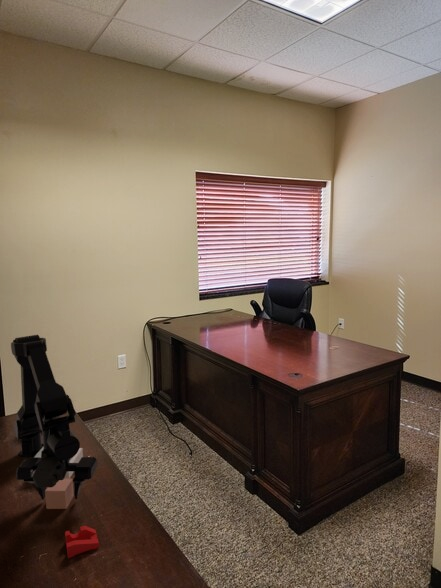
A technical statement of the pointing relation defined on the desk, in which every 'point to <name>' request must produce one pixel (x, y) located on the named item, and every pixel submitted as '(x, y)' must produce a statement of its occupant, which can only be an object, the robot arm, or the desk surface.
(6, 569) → the desk surface
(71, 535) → the bracket
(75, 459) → the tower base
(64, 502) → the terracotta block
